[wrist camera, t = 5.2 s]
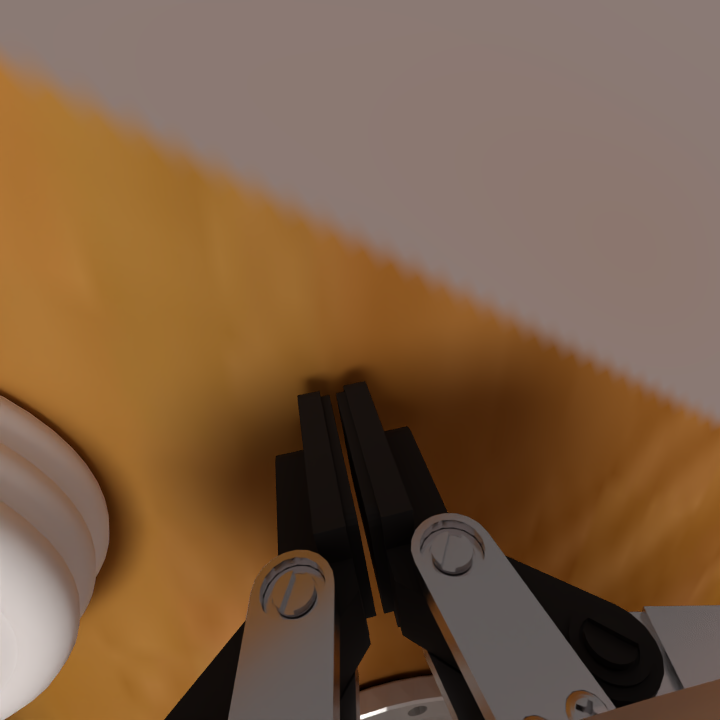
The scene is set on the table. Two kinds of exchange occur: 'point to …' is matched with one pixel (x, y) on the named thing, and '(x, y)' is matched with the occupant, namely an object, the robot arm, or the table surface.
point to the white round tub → (43, 553)
